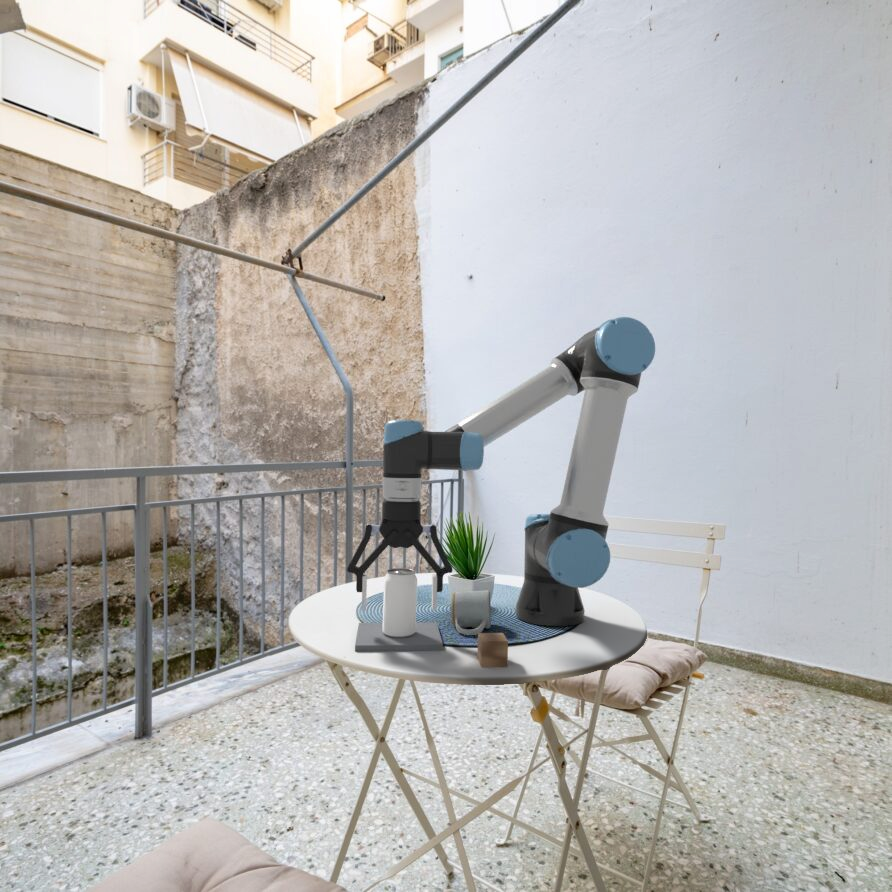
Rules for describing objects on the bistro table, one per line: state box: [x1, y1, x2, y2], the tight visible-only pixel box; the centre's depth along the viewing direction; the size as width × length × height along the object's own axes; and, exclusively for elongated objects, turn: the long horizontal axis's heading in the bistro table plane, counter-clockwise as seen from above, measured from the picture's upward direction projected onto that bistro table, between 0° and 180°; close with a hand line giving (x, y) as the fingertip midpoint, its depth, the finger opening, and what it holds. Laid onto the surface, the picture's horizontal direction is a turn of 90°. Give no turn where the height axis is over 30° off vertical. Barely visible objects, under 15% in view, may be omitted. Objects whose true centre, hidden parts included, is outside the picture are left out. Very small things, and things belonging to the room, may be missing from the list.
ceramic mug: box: [450, 589, 492, 636], centre depth 121 cm, size 11×8×8 cm
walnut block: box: [476, 632, 509, 668], centre depth 102 cm, size 4×4×4 cm
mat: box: [354, 621, 444, 652], centre depth 113 cm, size 16×14×1 cm
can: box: [382, 567, 418, 638], centre depth 114 cm, size 6×6×12 cm
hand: (399, 608), depth 114 cm, fingers open, 13 cm apart
